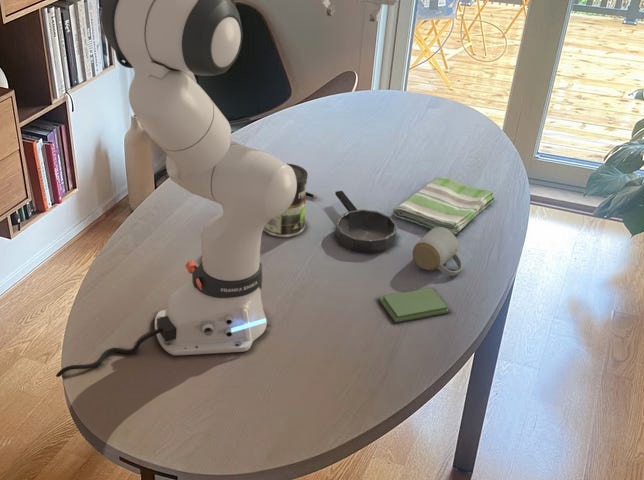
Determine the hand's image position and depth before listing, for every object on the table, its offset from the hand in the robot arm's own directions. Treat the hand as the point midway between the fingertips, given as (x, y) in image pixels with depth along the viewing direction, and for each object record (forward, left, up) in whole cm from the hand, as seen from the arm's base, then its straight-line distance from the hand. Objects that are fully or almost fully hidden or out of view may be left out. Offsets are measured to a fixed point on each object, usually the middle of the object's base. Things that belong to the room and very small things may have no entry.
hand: (352, 17), depth 161 cm
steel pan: (+7, +4, -51) cm, 52 cm away
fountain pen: (-2, +24, -51) cm, 57 cm away
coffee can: (-10, +9, -51) cm, 53 cm away
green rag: (+6, -29, -51) cm, 59 cm away
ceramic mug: (+18, -17, -51) cm, 57 cm away
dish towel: (+31, +6, -51) cm, 60 cm away
